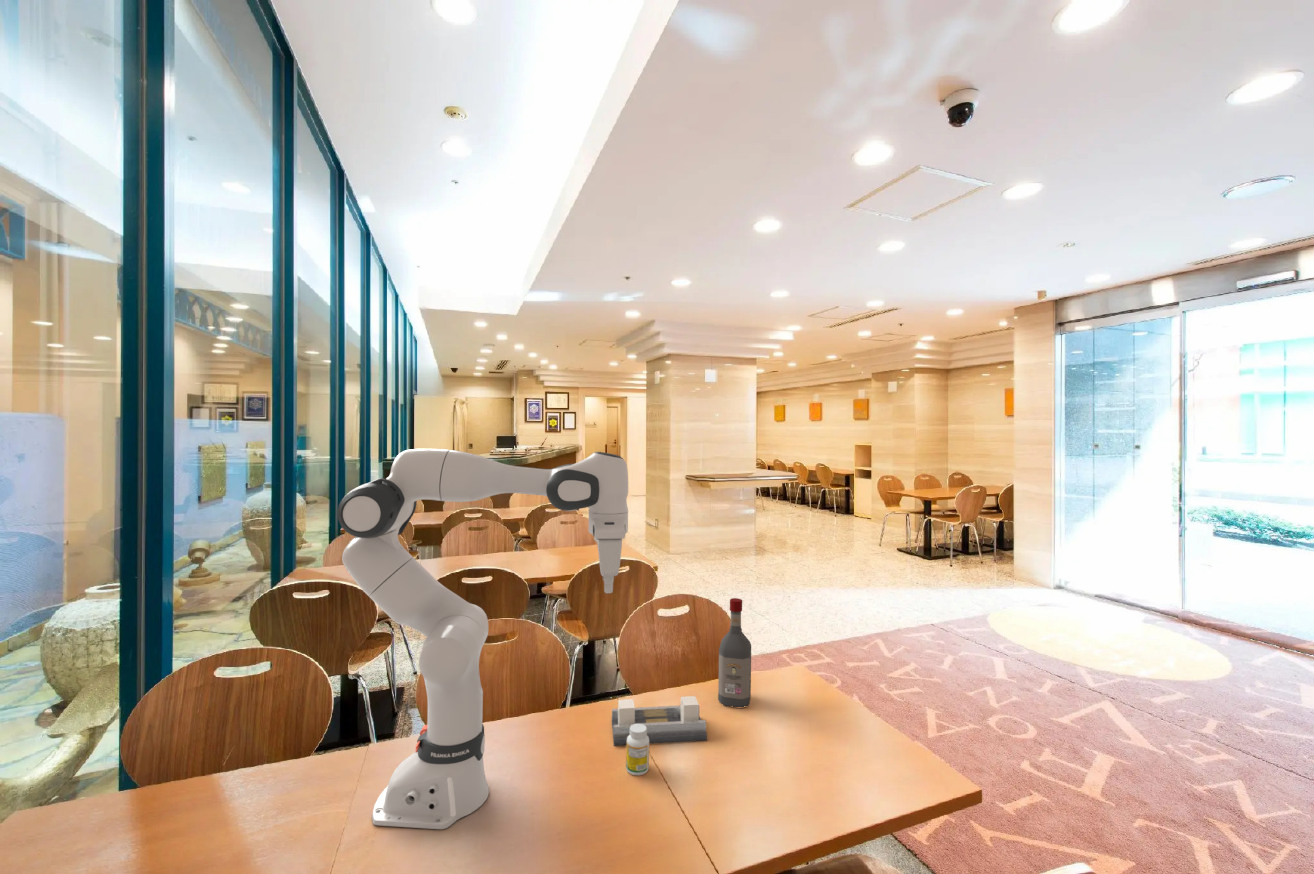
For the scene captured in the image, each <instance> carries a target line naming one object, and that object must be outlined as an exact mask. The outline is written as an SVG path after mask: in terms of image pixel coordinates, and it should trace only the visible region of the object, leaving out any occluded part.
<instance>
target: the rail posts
mask: <svg viewBox="0 0 1314 874" xmlns="http://www.w3.org/2000/svg"><path fill="white" fill-rule="evenodd" d="M617 702H618V703H617V709H618V725H619V724H635V708H636V706H635V700H634V698H630V699H628V698H625V699H618V701H617ZM680 705H681V713H680V719H681V721H694V720H699V716H700V704H699V701H698V700H697V697H696V696H695V695H693V696H692V695H691V696H690V695H689V696H687V695H686V696H680Z"/></svg>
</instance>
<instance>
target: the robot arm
mask: <svg viewBox="0 0 1314 874" xmlns="http://www.w3.org/2000/svg"><path fill="white" fill-rule="evenodd" d="M501 494H519V495H534V496H543V497H547V500H548V502H549V503H550V504H551V505H552V506H553V507H554V508H555V509H558V510H559V511H563V512H564V511H565V512H572V511H577V510H580V509H585V508H587V509H588V533H589V534H591V535H592V536H593V540H594V541H595V542H596V544H597V550H598V551H597V552H598V561H599V562H598V563H599V570H600V575H601V576H602V581H603V584H604V585H603V587H604V588H603V590H604V591H603V592H604V593H605V594H612V593H613V591H614V580H615V577H616V576H618V575H619V572H620V567H621V557H622V546H623V539H625V538H626V534H627V533H629V507H628V504H627V499H628V494H629V470H628V464H627V462H626V460H625V459H624V457H622V456H620V455H618V454H614V453H610V452H609V453H608V452H602V451H595V452H593V453H591V454H590V455H588V456H587V457H586V458H584V459H582V460H580V461H577V462H576V463H567V464H562V465H559V466H557V467H553V468H538V467H537V468H536V467H529V466H528V467H527V466H518V465H517V466H516V465H510V464H506V463H502V462H499V461H496V460H494V459H490V458H487V457H484V456H480V455H478V454H474V453H470V452H466V451H460V450H455V449H454V450H452V449H445V448H413V449H406V450H403V451H401V452H400V453H398V455H396V457H395V458H394V460H393V462H392V465H391V467H390V473H389V476H388V477H386V478H384V477H379V478H376V479H375V480H372V481H369V482H367V483H364V484H361V485H359V486H357V487H355V488H353V489H351V490H350V491H349V492H348V493H347V494H345V495H344V497H343V498H342V499H341V500H340V502H339V504H338V506H337V507H338V508H337V519H338V522H339V524H340V526H341V528H342V529H343V530H344V531H345V532H346V533H347V534H349V535H351V536H352V537H353V538H352V539H351V540H350V541H349V542H348V543H347V545H346V546H345V548H344V549H343V552H342V556H341V560H342V564H343V565H344V568H345V570H346V572H348V573H349V575H350V576H351V578H352V579H353V581H354V582H355V583H356V584H357V585H358V587H359V588H360V589H361V590H362V591H363V592H364V593H365V594H366V595H367V596H368V597H369V598H370V600H372V601H373V602H374V603H375V604H376V605H377V607H379V608H380V609H381V610H382V611H383V612H384V613H385V614H386V615H387V616H388V617H389V618H390V619H391V620H393V622H395V623H396V624H398V625H402V626H407V627H409V628H411V629H413V630H414V631H416V632H419V633H420V634H422V635H423V636H425V637H426V638H425V639H424V640H423V643H422V645H421V646H422V647H421V649H420V654H419V659H418V668H419V671H420V674H421V675H422V676H423V680H424V685H425V691H426V696H427V697H426V699H427V719H426V720H427V722H426V723H427V724H424V725H423V727H422V728H421V730H420V732H419V736H418V738H417V740H416V744H415V751H414V752H413V753H412V754H410V756H408V757H406V758H405V759H404V760H403V761H401V762H400V763H399V764H398V766H396V768H395V770H394V771H393V772H392V775H391V776H390V779H389V781H388V784H387V786H386V787H385V788H384V789H383V790H382V792H381V793H380V794H379V796H378V797H377V798H376V802H375V803H374V806H373V810H372V813H371V821H372V824H373V825H374V826H381V827H382V826H383V827H398V828H401V827H402V828H415V829H416V828H417V829H428V830H429V829H430V830H445V829H447V828H449V827H451V826H452V825H453V824H455V822H457V820H459V819H461V818H464V817H466V816H468V815H471V814H472V813H474V812H475V811H476V810H478V809H479V808H480V807H481V806H482V805H484V803H485V802H486V800H487V799H488V797H489V794H490V790H489V789H490V787H489V785H488V782H487V779H486V778H487V777H486V773H485V772H486V771H485V766H484V753H485V745H486V744H485V742H486V738H485V737H486V735H485V725H484V723H483V712H484V711H483V707H484V706H483V704H484V702H483V699H484V698H483V697H484V690H483V688H482V684H481V677H480V667H479V666H480V665H479V664H480V657H481V653H482V649H483V646H484V644H485V643H486V640H487V638H488V636H489V635H488V634H489V620H488V616H487V613H486V612H485V610H484V609H483V608H482V607H480V606H478V605H477V604H473V603H471V602H469V601H467V600H465V599H464V598H462V597H461V596H459V595H458V594H457V593H455V592H453V591H452V590H450V589H449V588H447V587H446V586H444V585H443V584H442V583H441V582H439V581H438V580H437V579H436V578H435V577H434V576H433V575H432V574H431V573H430V572H429V571H428V570H427V569H426V568H425V567H424V566H423V565H422V564H421V563H420V562H419V561H417V560H416V558H415V557H414V556H413V555H412V554H411V553H410V552H409V551H407V550H406V549H405V547H404V546H403V545H402V543H400V540H399V536H400V535H402V534H403V532H404V531H405V529H406V527H407V526H408V523H409V522H410V520H412V517H413V516H414V514H415V512H416V510H417V509H416V508H417V505H418V503H417V501H421V500H422V501H423V500H426V501H427V500H428V501H429V500H431V501H441V502H447V503H448V502H449V503H450V502H451V503H452V502H453V503H461V502H462V503H464V502H465V503H467V502H476V501H481V500H483V499H486V498H490V497H493V496H496V495H501Z"/></svg>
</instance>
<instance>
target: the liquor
mask: <svg viewBox="0 0 1314 874" xmlns="http://www.w3.org/2000/svg"><path fill="white" fill-rule="evenodd" d="M729 611H730V622H729V624H730V627H729V631H728V632H727V633H726V634H725V635H724V636H723V637H722V639H721V641H720V645H719V648H718V682H717V683H718V685H717V686H718V687H717V688H718V689H717V690H718V693H717V698H718V699H717V700H718V702H719V704H721V705H722V704H723V707H727V706H733V707H732V708H734V707H744V706H748V707H749V705H750V703H751V691H752V690H751V689H752V685H751V684H752V683H751V682H752V643H751V640H749V639H748V637H747V636H746V635H745V633H744V632H743V631H742V611H743V599H741V598H737V597H731V598H730V599H729ZM744 708H745V707H744Z"/></svg>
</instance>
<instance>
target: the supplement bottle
mask: <svg viewBox="0 0 1314 874" xmlns="http://www.w3.org/2000/svg"><path fill="white" fill-rule="evenodd" d="M646 734H647V727H646V726H645V725H643V724H633V725H631V726H630V735H629V736H628V737H627V745H626V754H625V755H626V756H625V757H626V758H625V759H626V760H625V761H626V762H625V763H626V764H625V767H626V771H627V772H628V774H630V775H633V776H642V775H645V774H646V773H647V772H648V771H649V768H650V766H649V765H650V744H649V737H648V736H647V735H646Z"/></svg>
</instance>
